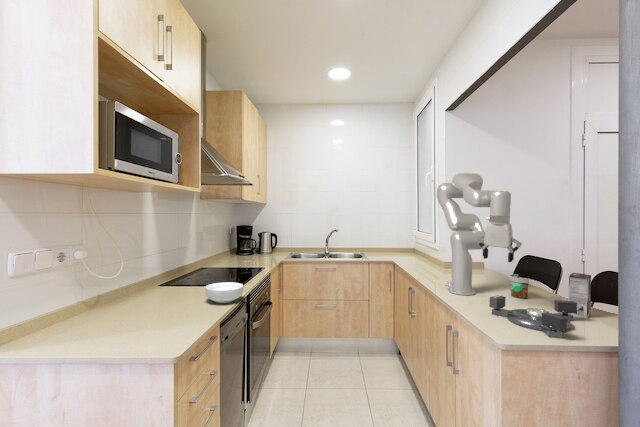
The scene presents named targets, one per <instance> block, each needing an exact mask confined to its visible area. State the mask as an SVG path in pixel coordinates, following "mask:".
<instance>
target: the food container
mask: <svg viewBox="0 0 640 427" xmlns="http://www.w3.org/2000/svg"><path fill="white" fill-rule="evenodd" d="M508 280H509V282H510V295H511V297H512V298H515V299H516V298H517V299H521V300H528V297H529V295H528V293H529V285H530V279H529V278H524V277H521V276H519V274H518V273H516V274H510V275H509V277H508Z"/></svg>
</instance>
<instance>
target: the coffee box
mask: <svg viewBox="0 0 640 427" xmlns="http://www.w3.org/2000/svg"><path fill="white" fill-rule="evenodd" d="M568 279H569V280H568V301H574V302H576V303H577V314H575V313H571V314H570V315H573V317H574V316H575V317H580V318H586V319H587V318H589V316H590V314H591V302H592V301H591V298H592V297H591V295H592V293H591V292H592V286H591V285H592V275H591V274H585V273H580V272H579V273H578V272H572V273H571V274H569V276H568ZM568 314H569V313H568Z"/></svg>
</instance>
